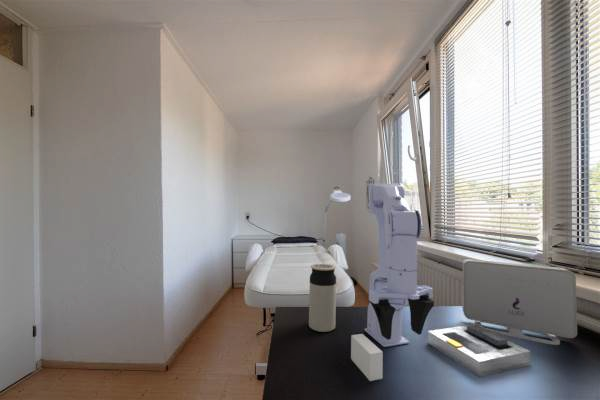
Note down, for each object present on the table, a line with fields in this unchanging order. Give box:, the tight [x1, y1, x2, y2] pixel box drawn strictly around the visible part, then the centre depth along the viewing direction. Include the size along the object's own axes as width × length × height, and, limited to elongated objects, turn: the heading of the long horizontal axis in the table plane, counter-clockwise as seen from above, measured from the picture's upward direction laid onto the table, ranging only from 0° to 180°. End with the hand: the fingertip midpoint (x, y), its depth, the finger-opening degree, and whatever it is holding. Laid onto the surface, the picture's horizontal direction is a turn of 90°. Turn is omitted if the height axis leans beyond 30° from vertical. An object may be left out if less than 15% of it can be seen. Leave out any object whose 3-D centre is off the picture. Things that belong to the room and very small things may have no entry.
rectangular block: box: [350, 333, 384, 382], centre depth 55 cm, size 8×3×6 cm, turn 17°
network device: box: [461, 258, 578, 346], centre depth 75 cm, size 26×9×20 cm, turn 62°
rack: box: [427, 324, 532, 378], centre depth 62 cm, size 14×16×5 cm
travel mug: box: [308, 263, 337, 333], centre depth 75 cm, size 8×8×18 cm
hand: (401, 334), depth 51 cm, fingers open, 7 cm apart
